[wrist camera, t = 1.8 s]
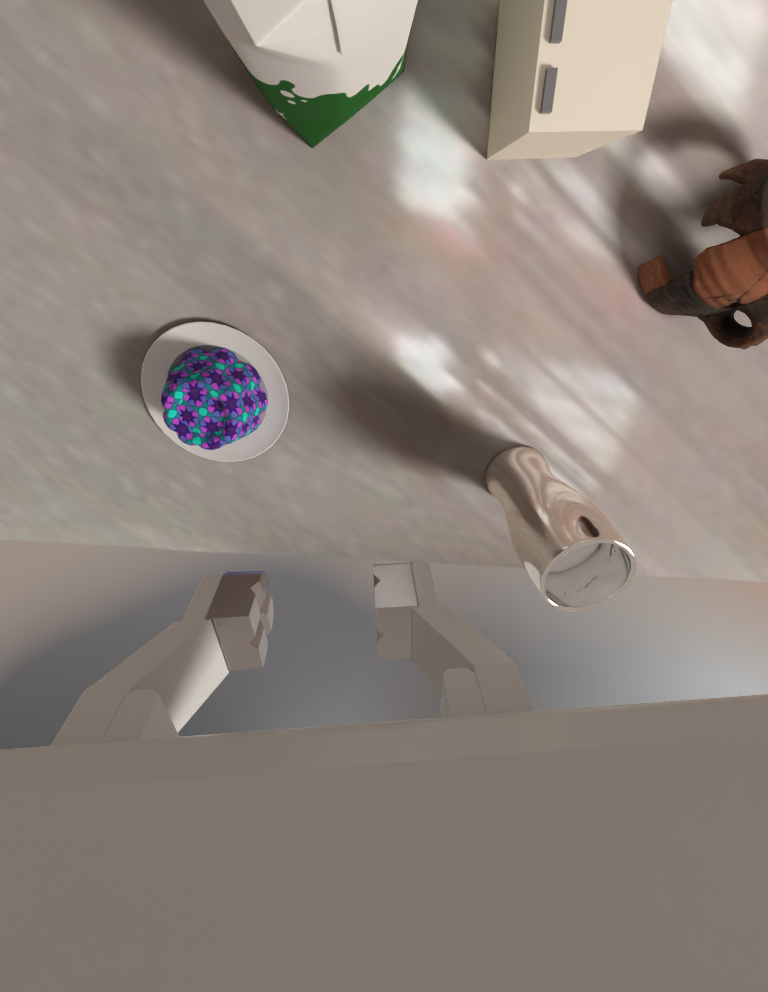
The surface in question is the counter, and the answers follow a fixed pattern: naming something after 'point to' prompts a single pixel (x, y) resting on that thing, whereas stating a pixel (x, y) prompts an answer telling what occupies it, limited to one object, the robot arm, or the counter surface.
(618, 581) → the beer glass
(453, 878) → the robot arm
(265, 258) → the counter surface
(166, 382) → the pudding
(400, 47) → the soya milk
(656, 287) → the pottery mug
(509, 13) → the block
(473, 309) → the counter surface
